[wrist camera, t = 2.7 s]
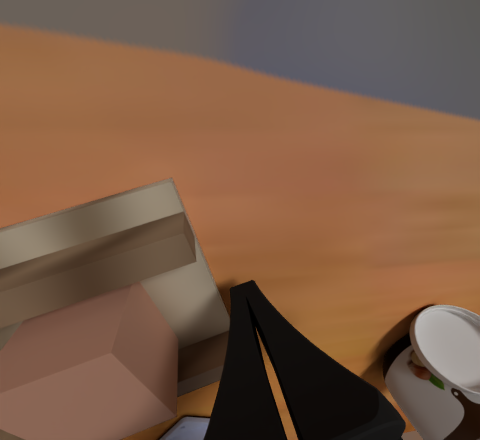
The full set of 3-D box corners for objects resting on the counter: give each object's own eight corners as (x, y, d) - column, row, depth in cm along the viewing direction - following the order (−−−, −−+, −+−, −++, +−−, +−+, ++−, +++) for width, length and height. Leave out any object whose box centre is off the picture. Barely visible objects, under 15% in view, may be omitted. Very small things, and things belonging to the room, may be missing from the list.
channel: (171, 177, 9) (163, 225, 5) (240, 343, 16) (258, 417, 12) (-433, 357, 7) (-1148, 641, 3) (-61, 460, 14) (-155, 593, 10)
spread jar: (387, 377, 27) (504, 529, 17) (347, 358, 22) (482, 562, 12) (467, 320, 25) (655, 459, 15) (443, 284, 20) (709, 461, 10)
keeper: (134, 274, 11) (110, 352, 7) (178, 339, 14) (176, 416, 10) (32, 308, 10) (-45, 410, 7) (101, 368, 13) (71, 459, 10)
